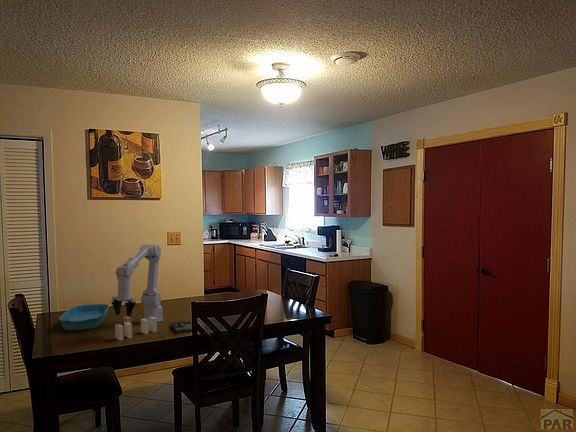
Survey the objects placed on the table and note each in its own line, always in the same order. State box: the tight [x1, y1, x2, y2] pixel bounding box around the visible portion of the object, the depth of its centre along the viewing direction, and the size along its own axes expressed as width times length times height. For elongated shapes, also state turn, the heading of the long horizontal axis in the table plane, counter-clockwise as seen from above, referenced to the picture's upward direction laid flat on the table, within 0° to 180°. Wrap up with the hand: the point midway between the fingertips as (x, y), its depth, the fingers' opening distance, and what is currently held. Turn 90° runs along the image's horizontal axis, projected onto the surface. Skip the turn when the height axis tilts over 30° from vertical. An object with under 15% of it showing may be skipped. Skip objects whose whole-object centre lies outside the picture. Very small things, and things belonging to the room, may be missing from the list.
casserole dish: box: [58, 303, 110, 331], centre depth 237 cm, size 37×22×7 cm, turn 14°
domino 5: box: [149, 317, 158, 333], centre depth 220 cm, size 2×5×7 cm, turn 45°
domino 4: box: [140, 317, 150, 335], centre depth 217 cm, size 2×5×7 cm, turn 45°
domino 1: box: [114, 323, 124, 341], centre depth 207 cm, size 2×5×7 cm, turn 44°
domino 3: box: [123, 322, 133, 339], centre depth 211 cm, size 2×5×7 cm, turn 45°
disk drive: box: [170, 320, 192, 335], centre depth 222 cm, size 10×3×15 cm
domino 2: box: [123, 315, 132, 324], centre depth 222 cm, size 2×5×7 cm, turn 44°
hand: (123, 315), depth 213 cm, fingers open, 7 cm apart
